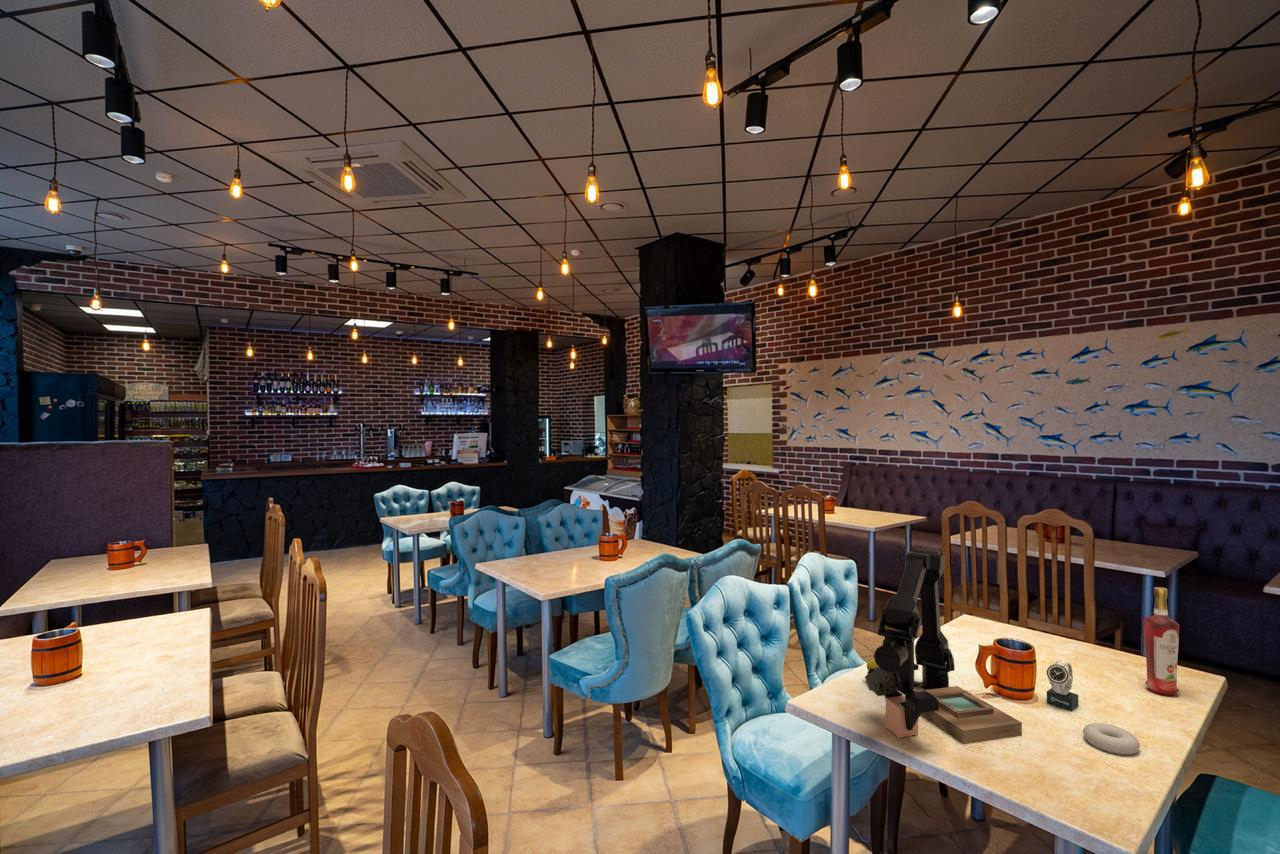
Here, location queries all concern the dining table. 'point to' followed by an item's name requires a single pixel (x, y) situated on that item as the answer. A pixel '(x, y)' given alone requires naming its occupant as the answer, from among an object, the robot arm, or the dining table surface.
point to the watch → (1061, 686)
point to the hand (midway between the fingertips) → (901, 724)
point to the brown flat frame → (970, 717)
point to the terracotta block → (898, 717)
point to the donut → (1111, 738)
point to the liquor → (1161, 647)
